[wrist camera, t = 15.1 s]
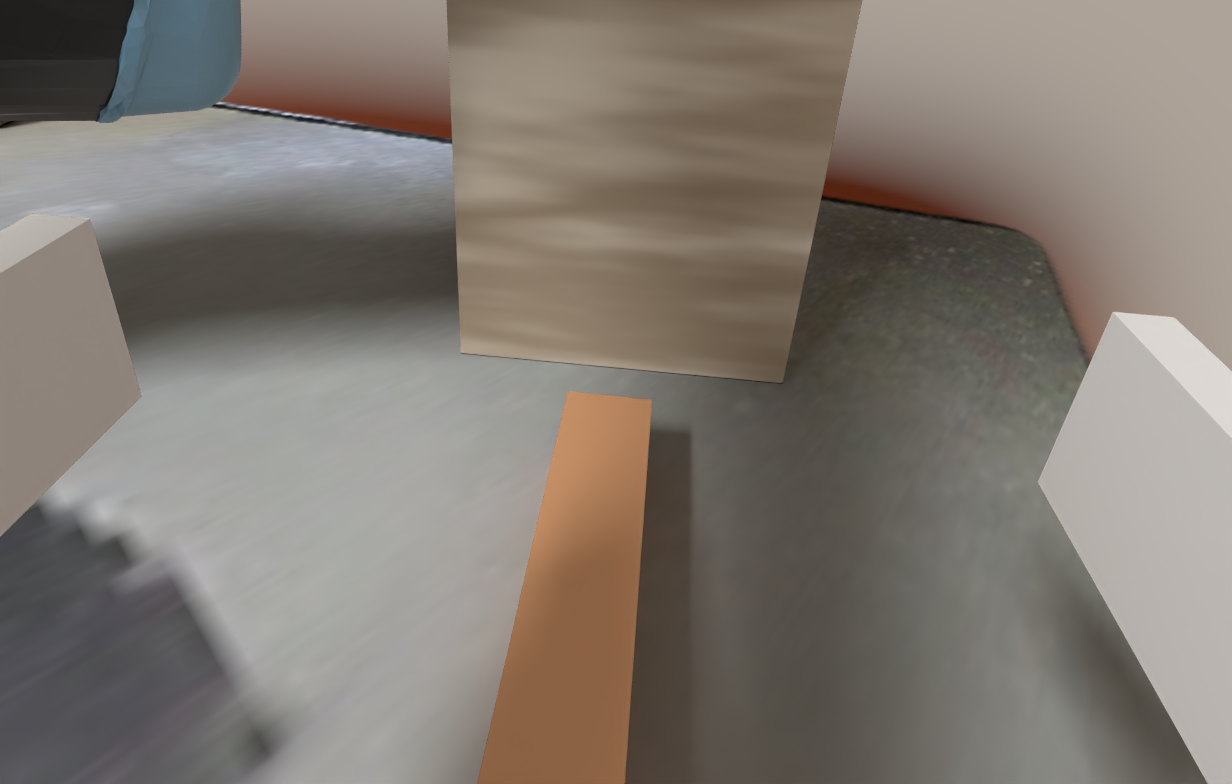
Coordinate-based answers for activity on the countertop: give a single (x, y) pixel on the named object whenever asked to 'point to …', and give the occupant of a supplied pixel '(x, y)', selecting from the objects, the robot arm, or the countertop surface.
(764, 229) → the grey-brown tall block
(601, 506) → the orange bar
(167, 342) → the countertop surface
